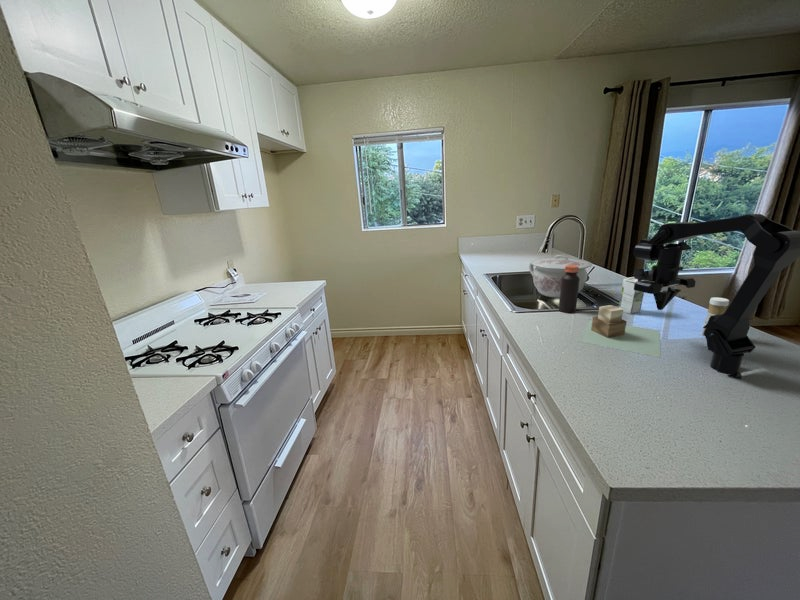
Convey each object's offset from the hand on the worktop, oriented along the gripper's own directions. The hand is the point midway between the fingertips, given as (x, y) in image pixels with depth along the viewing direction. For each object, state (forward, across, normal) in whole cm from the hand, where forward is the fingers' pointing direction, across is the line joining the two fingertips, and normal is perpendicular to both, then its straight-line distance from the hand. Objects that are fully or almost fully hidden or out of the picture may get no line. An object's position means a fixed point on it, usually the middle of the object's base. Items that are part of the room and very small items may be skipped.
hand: (659, 309), depth 105 cm
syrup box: (+11, -19, -25) cm, 33 cm away
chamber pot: (+10, -9, -57) cm, 59 cm away
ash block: (+6, +9, -10) cm, 15 cm away
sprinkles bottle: (+12, -21, +3) cm, 24 cm away
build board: (+11, +8, -6) cm, 15 cm away
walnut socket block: (+10, +9, -10) cm, 17 cm away
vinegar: (+11, +4, -36) cm, 37 cm away
